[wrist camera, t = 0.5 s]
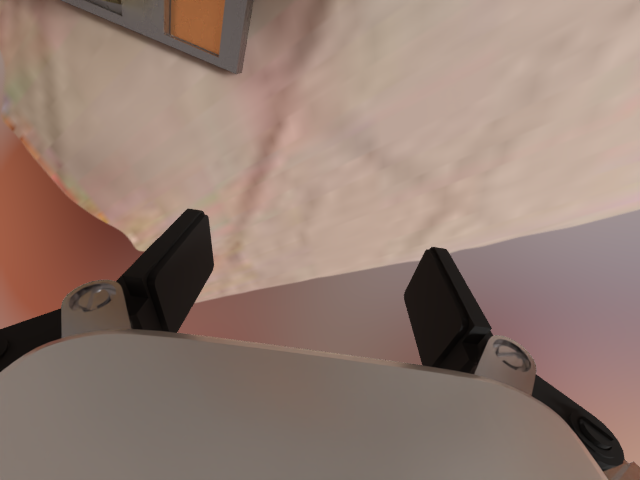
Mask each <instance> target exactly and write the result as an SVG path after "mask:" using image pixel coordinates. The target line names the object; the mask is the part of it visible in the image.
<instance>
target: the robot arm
mask: <svg viewBox="0 0 640 480" xmlns="http://www.w3.org/2000/svg"><path fill="white" fill-rule="evenodd" d="M213 267H214V261H213V252H212V243H211V235H210V226H209V218H208V216H207V215H205V214H204V212H203V211H200V210H194V209H187V210H186V211H185V212H184V213H183V214H182V215H181V216H180V217H179V218H178V219H177V220H176V221H175V222H174V223H173V224H172V225H171V226H170V227H169V228H168V229H167V230H166V231H165V232H164V233H163V234H162V235H161V236H160V237H159V238H158V239H157V240H156V241H155V242H154V243H153V244H152V245H151V246H150V247H149V248H148V249H147V250H146V251H145V252H144V253H143V254H142V255H141V256H140V257H139V258H138V259H137V260H136V262H135V263H134V264H133V265H132V266H131V267H130V268H129V269H128V270H127V271H126V272H125V273H124V274H123V275H122V276H121V277H120V278H119V279H118V280H117V281H116V282H115V281H111V280H98V281H92V282H89V283H86V284H83V285H81V286H79V287H77V288H76V289H74V290H73V291H72V292H70V293H69V294H68V295H67V296H66V297H65V298H64V300H63V302H62V306H61V309H58V310H55V311H53V312H50V313H47V314H44V315H41V316H38V317H35V318H32V319H29V320H26V321H23V322H21V323H18V324H15V325H12V326H9V327H6V328H3V329H0V480H640V467H639V466H638V465H637V464H636V463H635V462H631V463H627V461H626V460H625V459H624V454H623V450H622V448H621V446H620V444H619V442H618V440H617V439H616V438H615V436H614V435H613V433H612V432H611V431H610V430H609V429H608V428H607V427H606V426H605V425H604V424H603V423H602V422H601V421H599V420H598V419H597V418H596V417H595V416H593V415H592V414H590V413H589V412H587V411H586V410H585V409H583V408H582V407H581V406H579V405H578V404H577V403H575V402H574V401H572V400H571V399H570V398H568V397H567V396H565V395H564V394H563V393H561V392H560V391H558V390H557V389H555V388H554V387H553V386H551V385H550V384H549V383H547V382H546V381H544V380H543V379H542V378H540V377H539V376H537V375H536V364H535V362H534V359H533V358H532V357H531V355H530V354H529V353H528V352H527V351H526V350H525V349H524V348H523V347H522V346H521V345H520V344H518V343H517V342H515V341H513V340H512V339H510V338H507V337H504V336H497V335H495V336H493V335H492V333H491V331H490V330H491V329H492V328H491V326H490V325H489V323H488V321H487V319H486V318H485V316H484V314H483V312H482V310H481V309H480V307H479V305H478V303H477V302H476V300H475V298H474V296H473V295H472V293H471V291H470V289H469V288H468V286H467V284H466V283H465V280H464V279H463V277H462V275H461V273H460V272H459V270H458V268H457V266H456V265H455V263H454V261H453V259H452V258H451V256H450V254H449V252H448V251H447V249H443V248H436V247H431V248H430V249H429V250H426V251H425V253H424V255H423V257H422V259H421V261H420V263H419V265H418V267H417V269H416V271H415V273H414V275H413V277H412V279H411V281H410V283H409V285H408V287H407V289H406V291H405V294H404V300H405V304H406V307H407V311H408V315H409V318H410V322H411V326H412V329H413V333H414V336H415V340H416V344H417V347H418V350H419V355H420V358H421V362H422V365H423V366H422V365H416V364H409V363H402V362H395V361H387V360H381V359H373V358H366V357H359V356H352V355H344V354H337V353H330V352H322V351H315V350H308V349H300V348H292V347H285V346H277V345H270V344H263V343H255V342H247V341H239V340H232V339H223V338H216V337H208V336H200V335H191V334H182V333H177V332H178V330H179V328H180V327H181V325H182V323H183V321H184V320H185V318H186V316H187V314H188V313H189V311H190V309H191V307H192V306H193V304H194V302H195V301H196V299H197V297H198V295H199V294H200V292H201V290H202V288H203V287H204V285H205V283H206V281H207V280H208V278H209V276H210V274H211V273H212V271H213Z"/></svg>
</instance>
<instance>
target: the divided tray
mask: <svg viewBox="0 0 640 480" xmlns="http://www.w3.org/2000/svg"><path fill="white" fill-rule="evenodd" d="M62 1H64V2H66V3H69V4H71V5H73V6H76V7H78V8H81V9H83V10H85V11H88V12H90V13H92V14H95V15H97V16H100V17H102V18H104V19H107V20H109V21H111V22H114V23H116V24H119V25H121V26H123V27H126V28H128V29H131V30H133V31H135V32H138V33H140V34H142V35H145V36H147V37H150V38H152V39H154V40H157V41H159V42H161V43H164V44H166V45H169V46H171V47H173V48H176V49H178V50H180V51H183V52H185V53H188V54H190V55H192V56H195V57H197V58H199V59H202V60H204V61H207V62H209V63H211V64H214V65H216V66H219V67H221V68H223V69H226V70H228V71H230V72H233V73H235V74H238V73H242V68H243V61H244V55H245V49H246V43H247V36H248V30H249V24H250V18H251V11H252V5H253V0H121V4H116V3H112V2H107V1H103V0H62Z"/></svg>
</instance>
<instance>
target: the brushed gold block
mask: <svg viewBox="0 0 640 480" xmlns="http://www.w3.org/2000/svg"><path fill="white" fill-rule="evenodd" d="M103 1H107V2H112V3H116V4H121V0H103Z"/></svg>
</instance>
